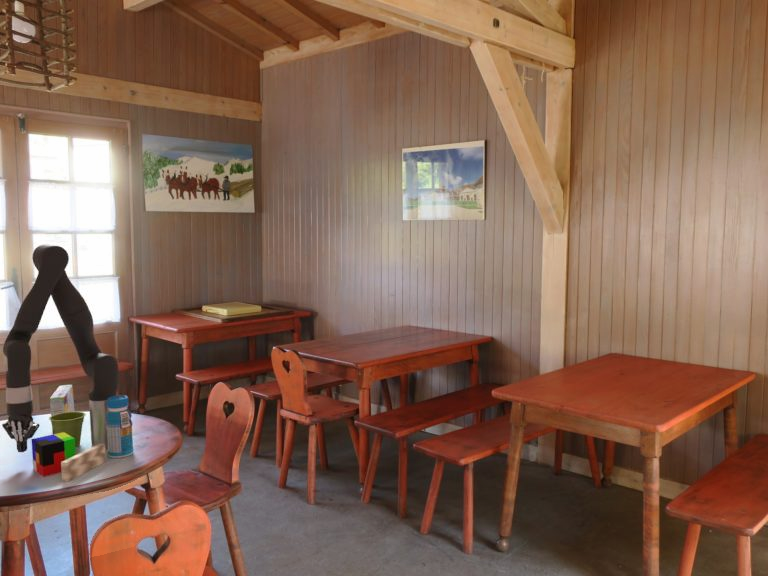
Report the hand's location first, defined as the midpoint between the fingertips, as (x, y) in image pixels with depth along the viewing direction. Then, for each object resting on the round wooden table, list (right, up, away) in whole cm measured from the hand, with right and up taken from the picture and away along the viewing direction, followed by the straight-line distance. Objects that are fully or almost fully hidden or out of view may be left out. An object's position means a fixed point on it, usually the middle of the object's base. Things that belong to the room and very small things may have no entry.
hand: (22, 451), depth 215 cm
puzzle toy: (+12, -5, -2) cm, 13 cm away
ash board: (+23, -5, -5) cm, 24 cm away
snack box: (-7, -2, +43) cm, 43 cm away
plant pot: (+6, -3, +20) cm, 21 cm away
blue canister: (+28, -4, +10) cm, 30 cm away
